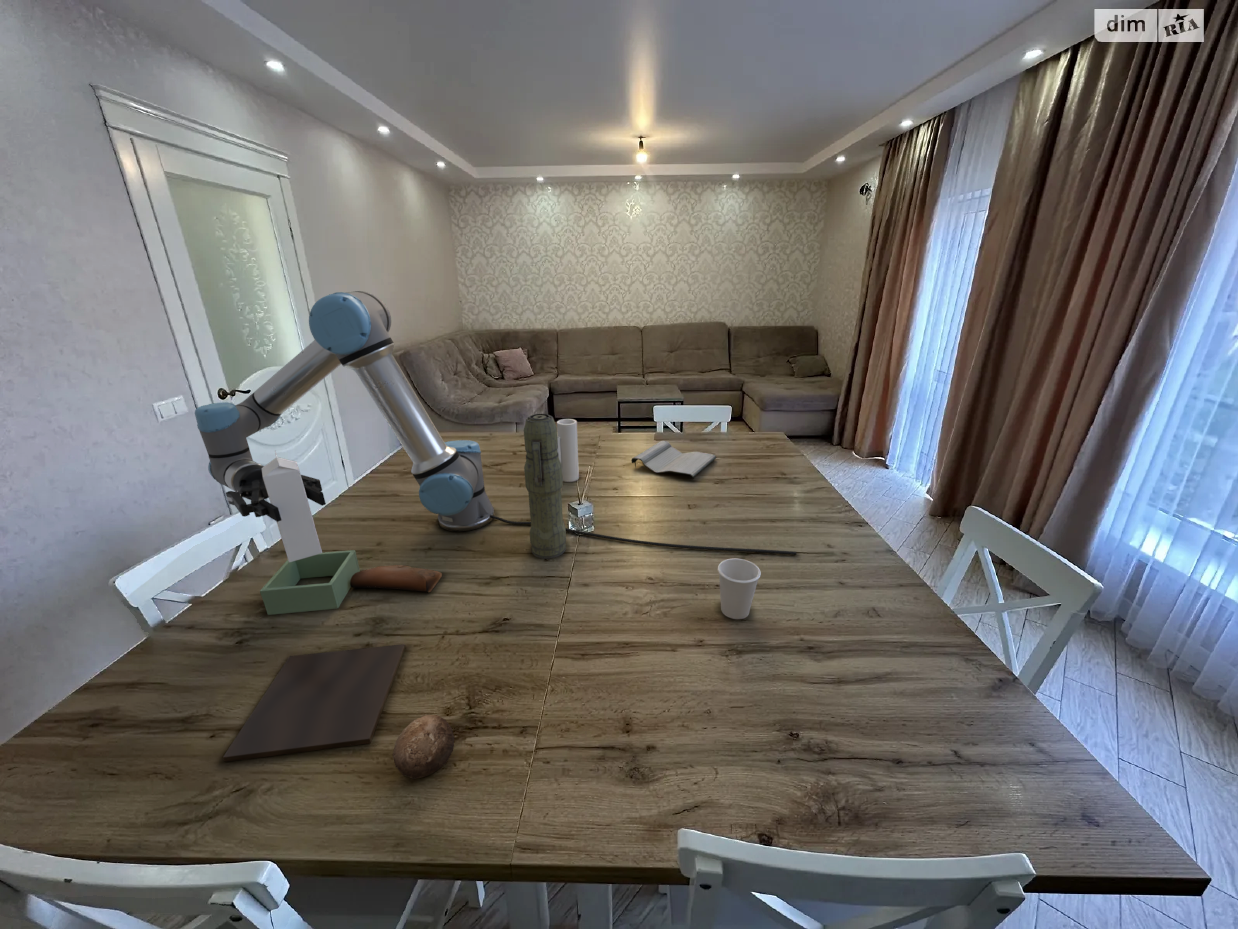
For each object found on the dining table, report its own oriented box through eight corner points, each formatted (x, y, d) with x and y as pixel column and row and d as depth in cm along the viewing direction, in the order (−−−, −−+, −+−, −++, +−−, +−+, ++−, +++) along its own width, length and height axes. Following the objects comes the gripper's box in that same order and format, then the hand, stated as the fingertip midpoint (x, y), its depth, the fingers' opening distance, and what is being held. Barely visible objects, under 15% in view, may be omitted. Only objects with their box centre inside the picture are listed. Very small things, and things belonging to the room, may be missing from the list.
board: (405, 648, 91) (404, 643, 90) (370, 743, 72) (369, 738, 72) (291, 660, 88) (289, 655, 88) (224, 762, 70) (222, 757, 69)
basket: (360, 571, 114) (355, 549, 112) (337, 608, 101) (331, 584, 99) (298, 576, 112) (291, 554, 110) (267, 615, 100) (259, 591, 97)
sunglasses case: (444, 571, 113) (434, 558, 108) (435, 600, 109) (424, 588, 103) (372, 567, 115) (358, 554, 109) (360, 595, 110) (345, 583, 105)
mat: (693, 482, 161) (693, 469, 159) (631, 469, 172) (631, 457, 170) (716, 460, 179) (717, 448, 178) (659, 450, 190) (659, 438, 189)
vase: (579, 473, 168) (577, 418, 161) (578, 482, 162) (576, 424, 154) (546, 474, 168) (542, 419, 160) (544, 483, 161) (540, 425, 154)
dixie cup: (732, 628, 95) (736, 586, 91) (706, 604, 102) (709, 564, 98) (764, 615, 98) (769, 574, 95) (737, 593, 105) (741, 554, 102)
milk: (289, 563, 98) (256, 462, 89) (286, 550, 102) (255, 453, 94) (323, 553, 101) (295, 454, 93) (319, 541, 106) (292, 446, 97)
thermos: (567, 536, 128) (560, 409, 115) (564, 561, 117) (556, 423, 104) (534, 537, 128) (523, 409, 115) (528, 562, 117) (515, 424, 104)
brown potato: (406, 713, 73) (408, 706, 69) (458, 724, 75) (463, 717, 70) (384, 775, 68) (384, 771, 63) (440, 785, 70) (444, 782, 65)
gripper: (306, 480, 116) (356, 504, 104) (201, 513, 100) (246, 546, 88) (298, 451, 113) (348, 472, 101) (189, 480, 98) (233, 509, 85)
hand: (300, 506), depth 95 cm, fingers closed on milk, 7 cm apart
